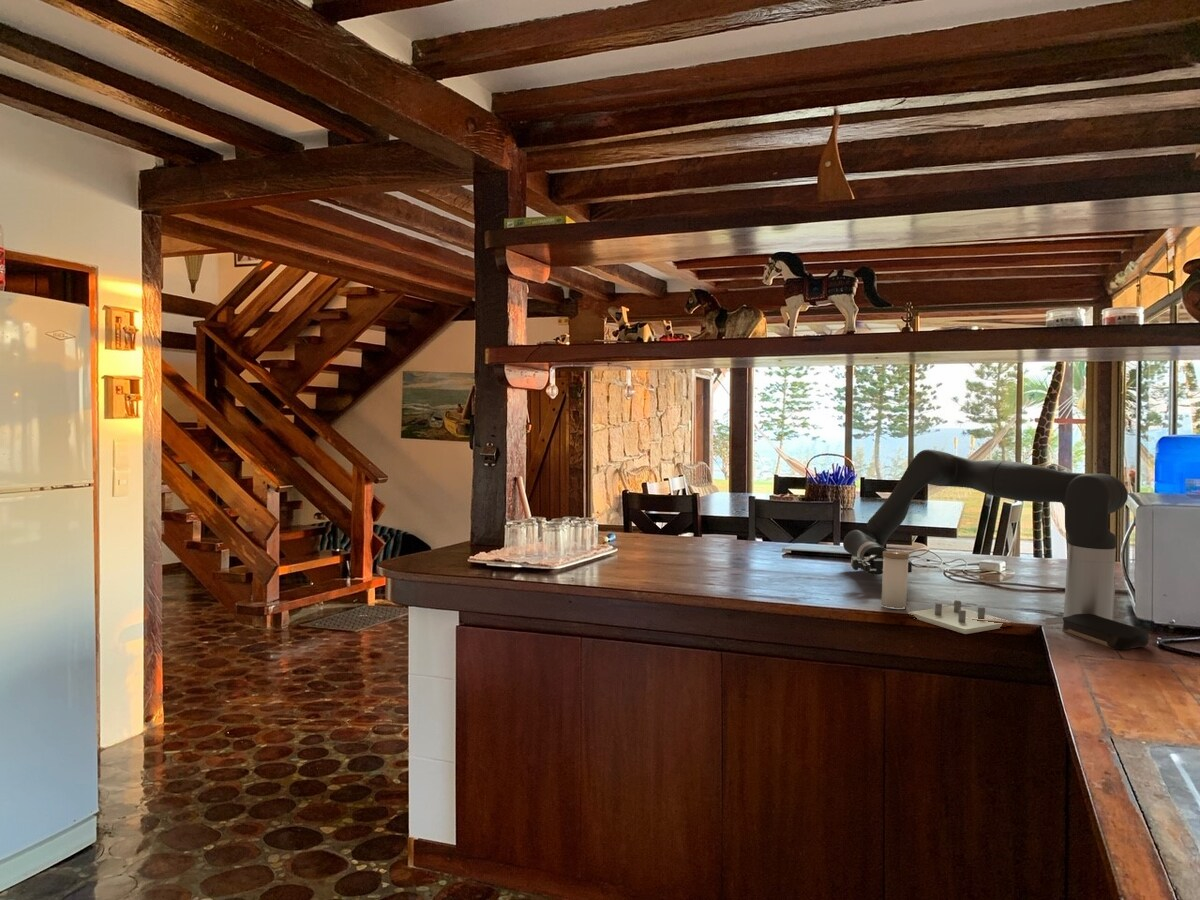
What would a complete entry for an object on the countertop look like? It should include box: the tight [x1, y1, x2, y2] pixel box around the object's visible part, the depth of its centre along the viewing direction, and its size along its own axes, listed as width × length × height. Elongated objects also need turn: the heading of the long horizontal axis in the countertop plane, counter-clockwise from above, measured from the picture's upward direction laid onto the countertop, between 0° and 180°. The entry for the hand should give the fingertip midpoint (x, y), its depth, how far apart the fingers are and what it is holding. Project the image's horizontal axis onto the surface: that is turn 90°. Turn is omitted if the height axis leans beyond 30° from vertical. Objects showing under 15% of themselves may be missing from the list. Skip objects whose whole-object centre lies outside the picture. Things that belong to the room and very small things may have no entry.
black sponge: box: [1061, 614, 1150, 651], centre depth 171 cm, size 16×8×4 cm, turn 14°
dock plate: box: [907, 599, 1012, 635], centre depth 183 cm, size 15×15×4 cm
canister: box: [880, 549, 910, 608], centre depth 194 cm, size 6×6×13 cm
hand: (886, 569), depth 203 cm, fingers open, 8 cm apart
